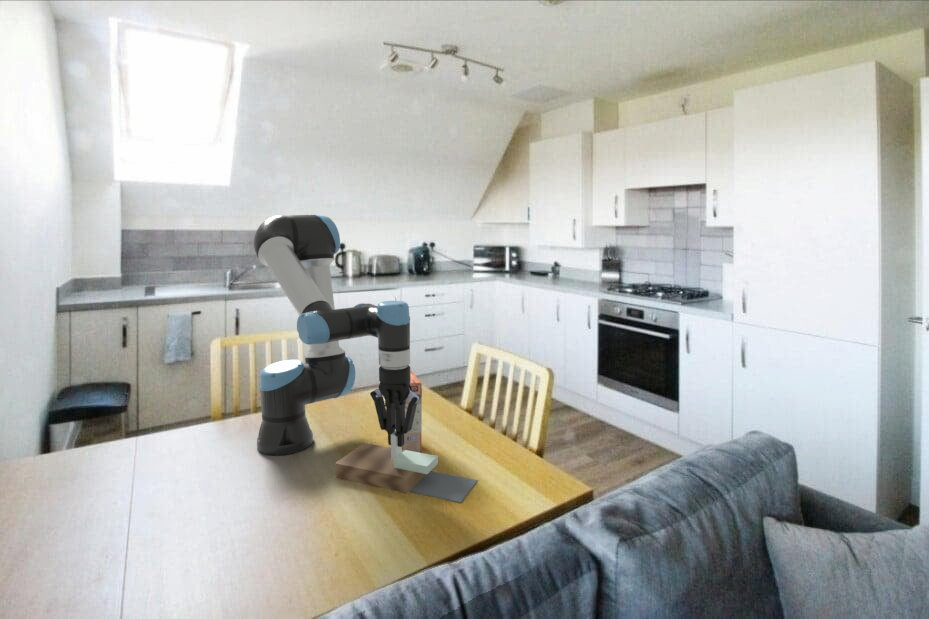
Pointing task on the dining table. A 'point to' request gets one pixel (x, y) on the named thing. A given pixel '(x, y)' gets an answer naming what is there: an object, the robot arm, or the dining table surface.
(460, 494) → the mat
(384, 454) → the wooden block
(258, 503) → the dining table surface
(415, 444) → the cracker box
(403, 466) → the pale green eraser
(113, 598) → the dining table surface
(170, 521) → the dining table surface
